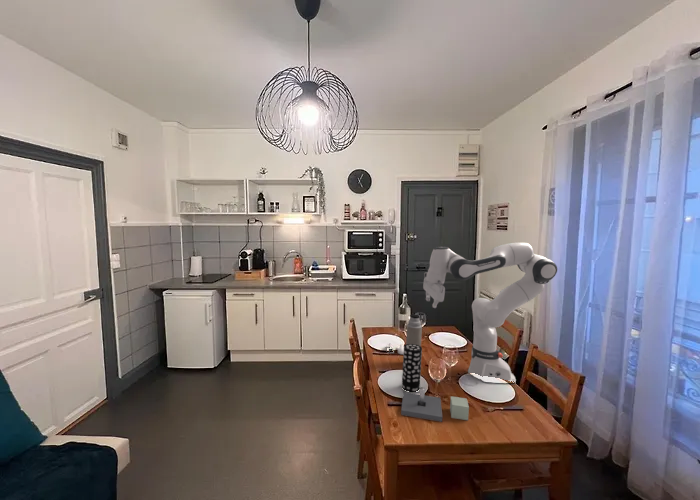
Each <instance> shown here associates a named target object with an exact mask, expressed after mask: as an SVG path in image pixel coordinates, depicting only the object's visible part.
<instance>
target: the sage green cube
mask: <svg viewBox="0 0 700 500" xmlns="http://www.w3.org/2000/svg"><path fill="white" fill-rule="evenodd" d="M449 403H450V404H449V411H450V418H451V419H456V420H457V419H458V420H464V421H469V414H470V413H469V412H470V411H469V410H470V406H469V402H468V399H467V398H465V397H458V396H451V395H450V402H449Z"/></svg>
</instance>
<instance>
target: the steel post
mask: <svg viewBox="0 0 700 500" xmlns="http://www.w3.org/2000/svg"><path fill="white" fill-rule="evenodd" d="M425 393H426V388H425V387H421V386H420V390H419V395H420V398H419V406H424V397H425V396H426V395H425ZM424 407H425V406H424Z"/></svg>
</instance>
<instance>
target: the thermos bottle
mask: <svg viewBox="0 0 700 500" xmlns="http://www.w3.org/2000/svg"><path fill="white" fill-rule="evenodd" d="M409 317H410V318H409V320H408V323H407V324H406V338H405V339H406V340H405V341H406V342H405V345H406V344H416V345H419V346H421V347H422V333H423V325H422V321H421V320H420V315H419V314H416V313H414V314H411V315H410V316H409Z"/></svg>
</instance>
